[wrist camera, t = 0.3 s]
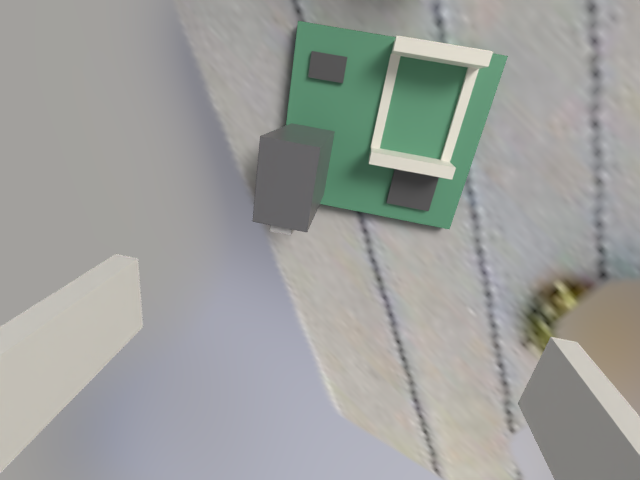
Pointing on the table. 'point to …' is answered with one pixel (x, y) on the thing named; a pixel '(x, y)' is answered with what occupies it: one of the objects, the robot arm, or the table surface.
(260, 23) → the table surface
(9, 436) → the robot arm
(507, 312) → the table surface
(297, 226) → the plug
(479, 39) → the table surface
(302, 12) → the table surface
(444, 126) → the board
